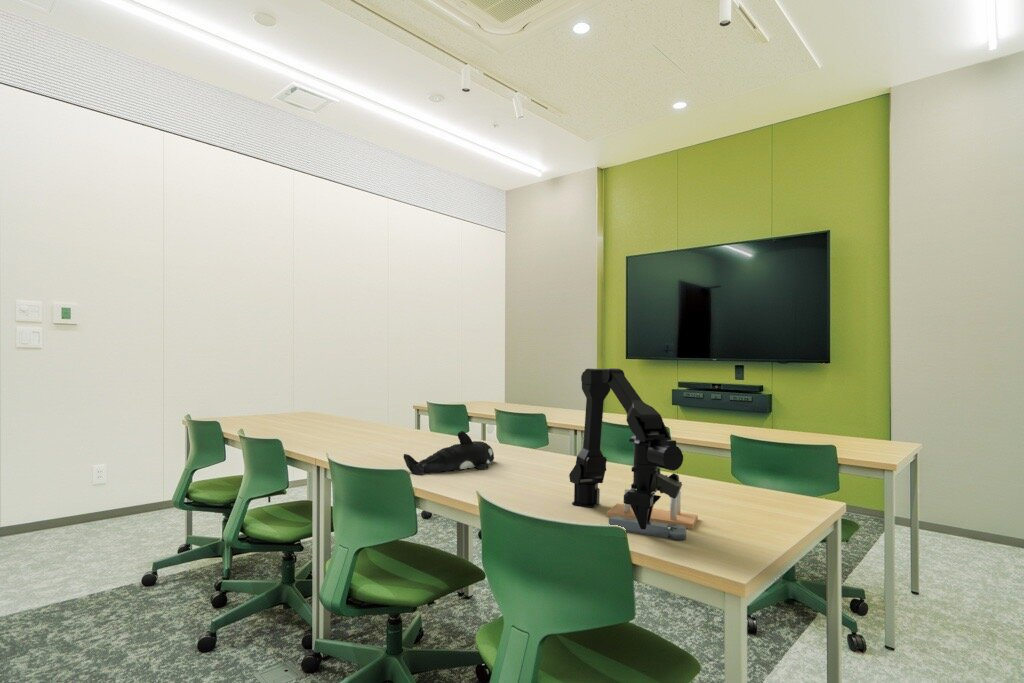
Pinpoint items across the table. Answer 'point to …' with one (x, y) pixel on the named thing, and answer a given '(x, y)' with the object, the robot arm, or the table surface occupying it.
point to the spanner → (651, 528)
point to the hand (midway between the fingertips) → (644, 527)
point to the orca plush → (454, 457)
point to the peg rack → (659, 513)
